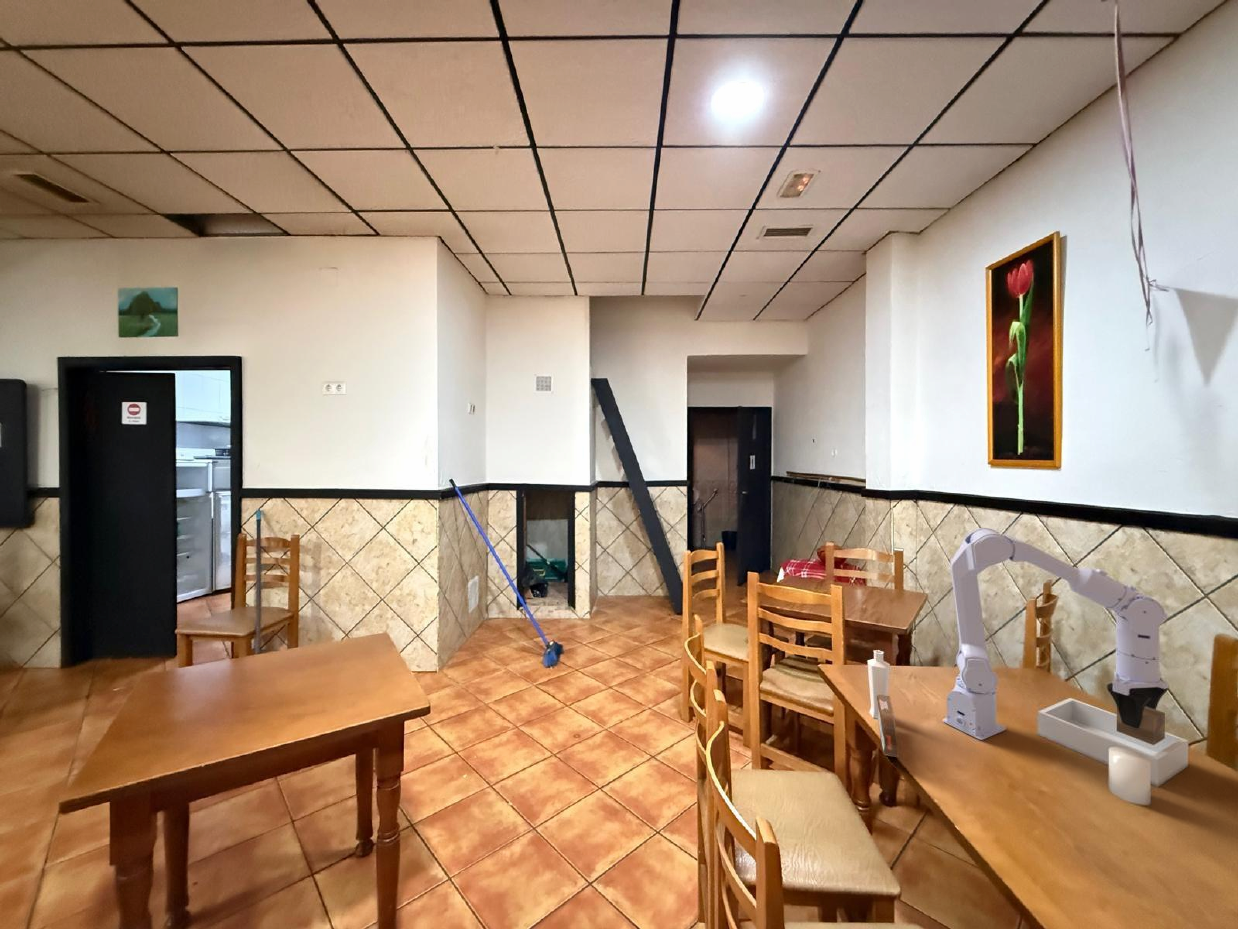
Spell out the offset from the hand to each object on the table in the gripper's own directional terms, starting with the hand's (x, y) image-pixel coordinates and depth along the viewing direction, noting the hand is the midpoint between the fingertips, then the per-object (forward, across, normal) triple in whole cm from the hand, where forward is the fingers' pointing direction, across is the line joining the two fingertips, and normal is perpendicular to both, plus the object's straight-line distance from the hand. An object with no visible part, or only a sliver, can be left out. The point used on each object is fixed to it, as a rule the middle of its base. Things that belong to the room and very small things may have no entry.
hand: (1137, 722), depth 91 cm
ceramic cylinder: (+8, -14, -4) cm, 16 cm away
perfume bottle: (+8, -31, +32) cm, 46 cm away
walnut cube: (+2, 0, 0) cm, 2 cm away
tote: (+8, 0, +4) cm, 9 cm away
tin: (+8, -39, +24) cm, 47 cm away
